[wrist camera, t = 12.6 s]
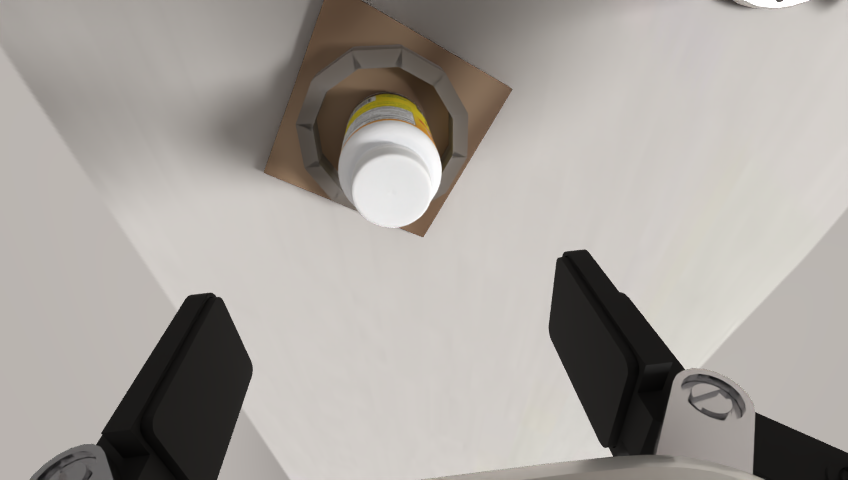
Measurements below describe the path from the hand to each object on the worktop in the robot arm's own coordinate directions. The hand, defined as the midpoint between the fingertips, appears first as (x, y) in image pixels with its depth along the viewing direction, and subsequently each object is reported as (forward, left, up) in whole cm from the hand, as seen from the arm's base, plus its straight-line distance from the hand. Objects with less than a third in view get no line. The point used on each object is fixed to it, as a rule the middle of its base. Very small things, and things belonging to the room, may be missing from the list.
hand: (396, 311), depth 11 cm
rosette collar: (0, +1, -20) cm, 20 cm away
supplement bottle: (0, +1, -20) cm, 20 cm away
